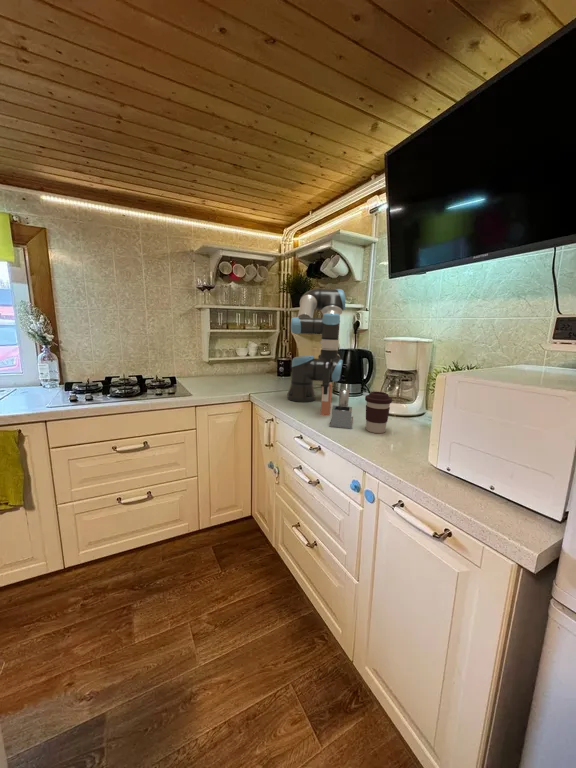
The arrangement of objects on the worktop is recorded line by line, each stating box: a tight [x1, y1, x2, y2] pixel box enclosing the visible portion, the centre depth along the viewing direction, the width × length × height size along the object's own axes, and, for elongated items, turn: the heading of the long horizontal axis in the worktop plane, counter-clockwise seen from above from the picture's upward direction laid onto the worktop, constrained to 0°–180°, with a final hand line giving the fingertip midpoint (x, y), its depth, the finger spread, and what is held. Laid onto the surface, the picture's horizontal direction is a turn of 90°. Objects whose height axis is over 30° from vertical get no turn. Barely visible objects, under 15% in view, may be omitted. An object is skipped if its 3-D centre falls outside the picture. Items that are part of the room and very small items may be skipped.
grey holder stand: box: [328, 388, 354, 430], centre depth 133 cm, size 16×9×13 cm, turn 167°
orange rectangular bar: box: [320, 382, 333, 417], centre depth 144 cm, size 4×4×14 cm
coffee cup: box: [364, 391, 393, 434], centre depth 124 cm, size 10×10×15 cm
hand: (326, 398), depth 144 cm, fingers open, 10 cm apart
